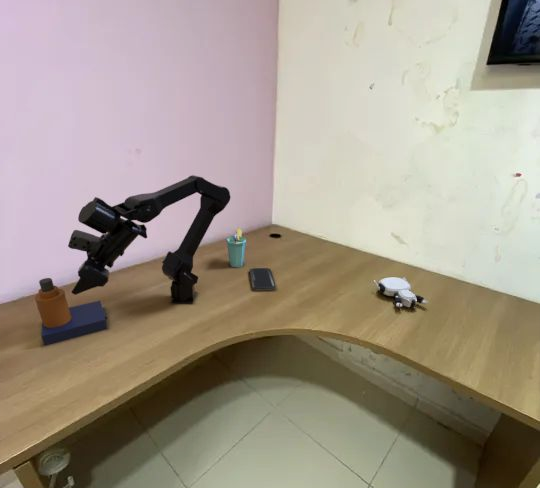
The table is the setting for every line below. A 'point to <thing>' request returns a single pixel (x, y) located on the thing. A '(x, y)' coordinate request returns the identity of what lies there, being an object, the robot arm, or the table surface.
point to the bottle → (52, 304)
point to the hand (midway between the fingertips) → (76, 284)
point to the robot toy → (399, 291)
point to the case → (77, 323)
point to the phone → (262, 279)
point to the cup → (236, 249)
